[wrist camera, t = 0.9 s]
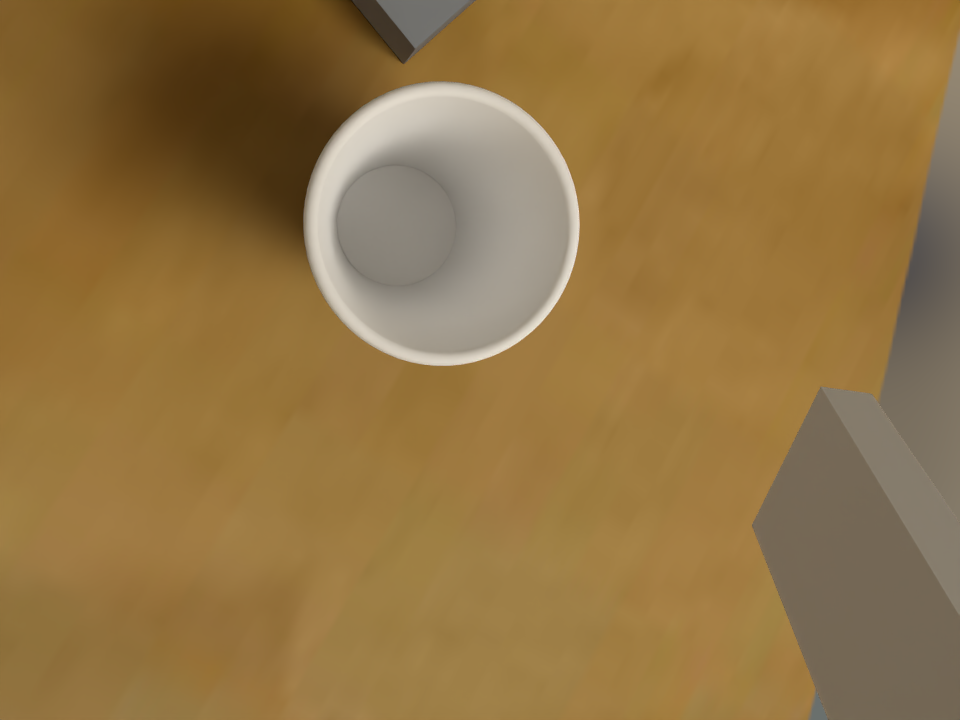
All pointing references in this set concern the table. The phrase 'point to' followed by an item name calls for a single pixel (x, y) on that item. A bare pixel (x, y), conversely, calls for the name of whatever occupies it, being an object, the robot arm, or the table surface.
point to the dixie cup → (441, 223)
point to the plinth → (410, 21)
